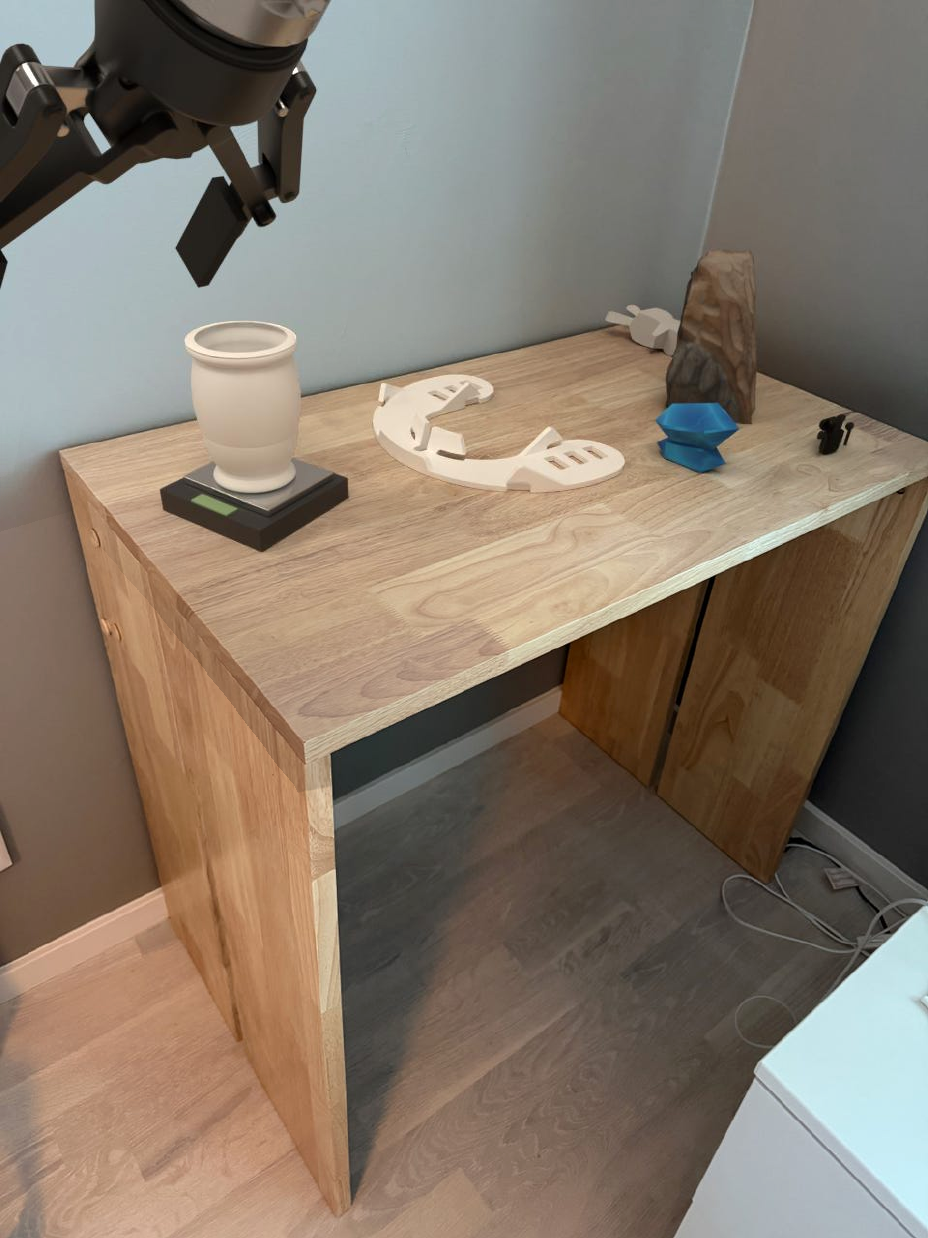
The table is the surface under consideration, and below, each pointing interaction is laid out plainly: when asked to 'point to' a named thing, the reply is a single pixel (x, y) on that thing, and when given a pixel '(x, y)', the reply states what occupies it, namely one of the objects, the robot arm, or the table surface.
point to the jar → (246, 401)
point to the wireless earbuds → (833, 433)
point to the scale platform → (263, 502)
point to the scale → (251, 512)
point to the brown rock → (717, 337)
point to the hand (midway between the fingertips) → (88, 288)
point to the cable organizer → (418, 405)
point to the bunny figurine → (649, 327)
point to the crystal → (695, 434)
